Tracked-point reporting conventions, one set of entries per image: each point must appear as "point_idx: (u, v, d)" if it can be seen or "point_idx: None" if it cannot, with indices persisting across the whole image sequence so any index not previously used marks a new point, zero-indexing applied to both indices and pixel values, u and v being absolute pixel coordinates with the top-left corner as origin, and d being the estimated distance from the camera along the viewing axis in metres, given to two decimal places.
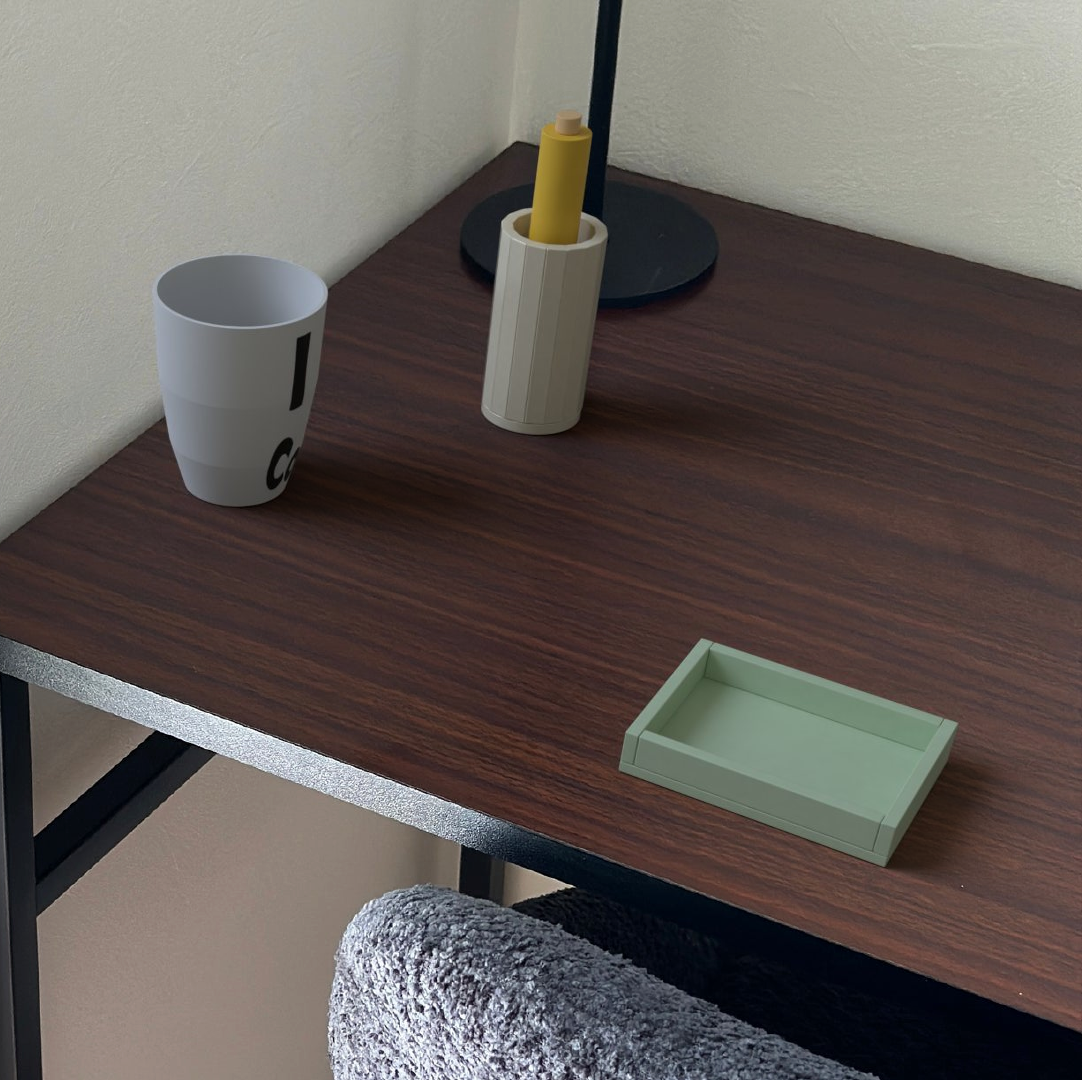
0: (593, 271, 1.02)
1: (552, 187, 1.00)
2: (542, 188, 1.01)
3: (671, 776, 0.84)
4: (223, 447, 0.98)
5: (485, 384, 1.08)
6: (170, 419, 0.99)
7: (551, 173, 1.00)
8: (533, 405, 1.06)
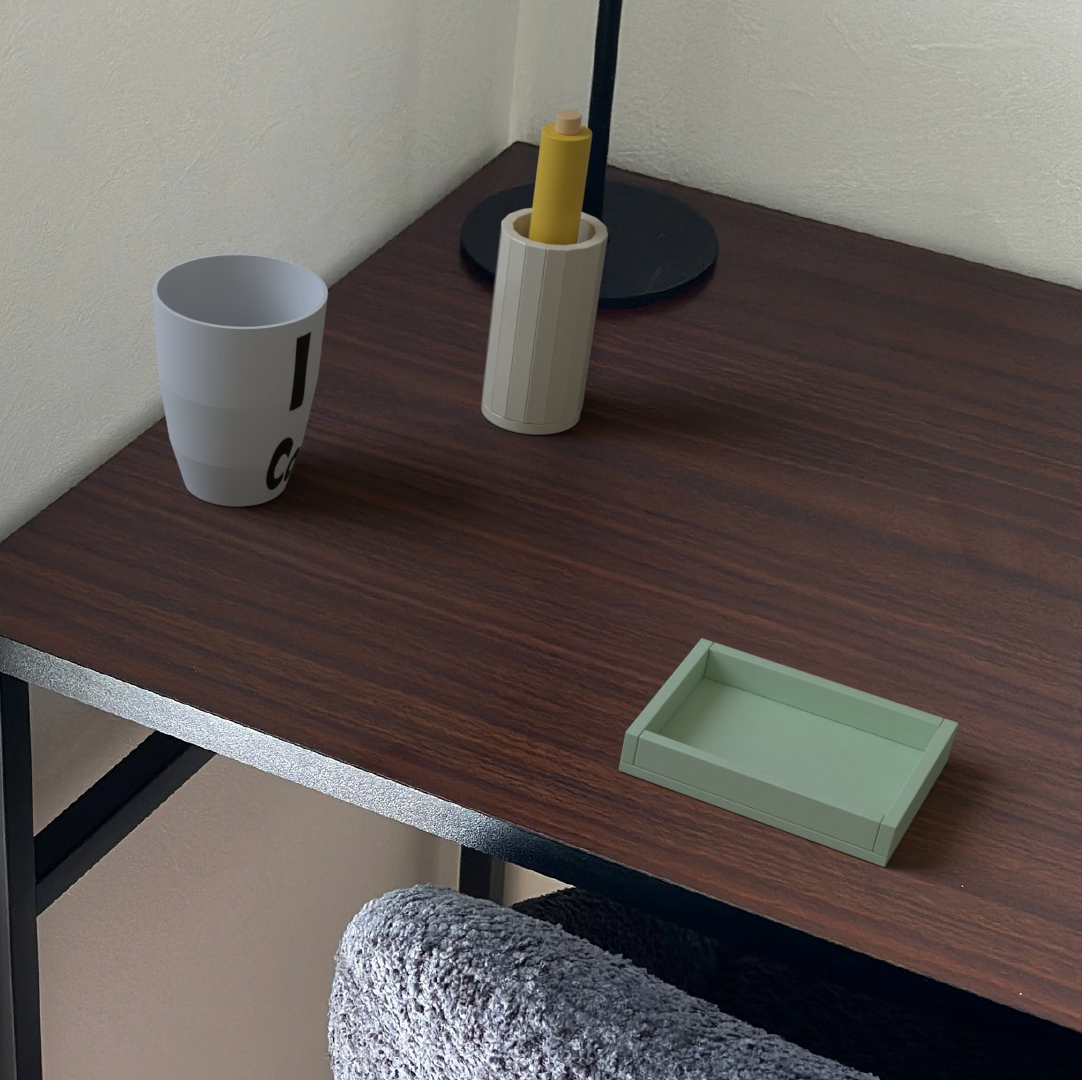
0: (593, 271, 1.02)
1: (552, 187, 1.00)
2: (542, 188, 1.01)
3: (671, 776, 0.84)
4: (223, 447, 0.98)
5: (485, 384, 1.08)
6: (170, 419, 0.99)
7: (551, 173, 1.00)
8: (533, 405, 1.06)
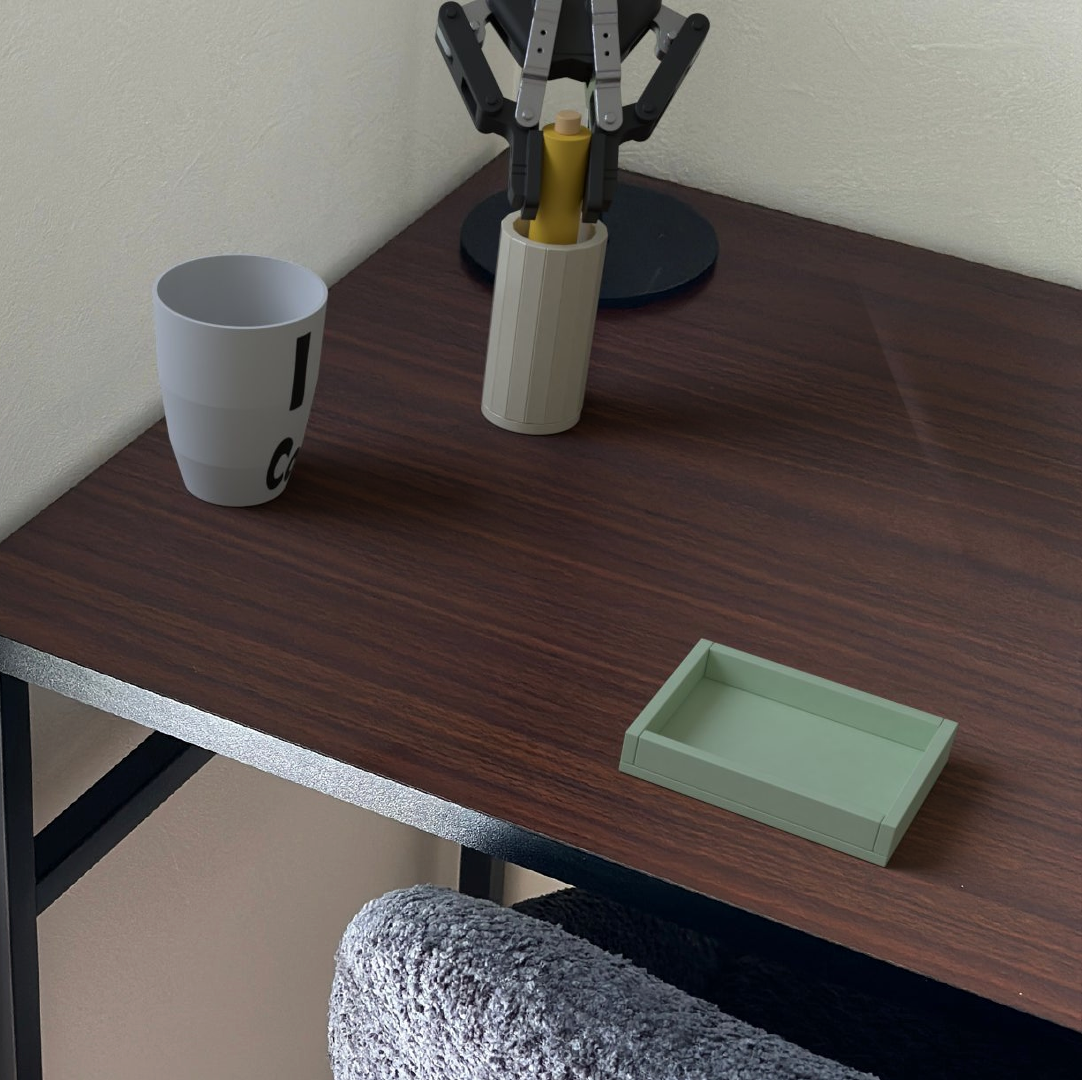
0: (593, 271, 1.02)
1: (552, 187, 1.00)
2: (542, 188, 1.01)
3: (671, 776, 0.84)
4: (223, 447, 0.98)
5: (485, 384, 1.08)
6: (170, 419, 0.99)
7: (551, 173, 1.00)
8: (533, 405, 1.06)
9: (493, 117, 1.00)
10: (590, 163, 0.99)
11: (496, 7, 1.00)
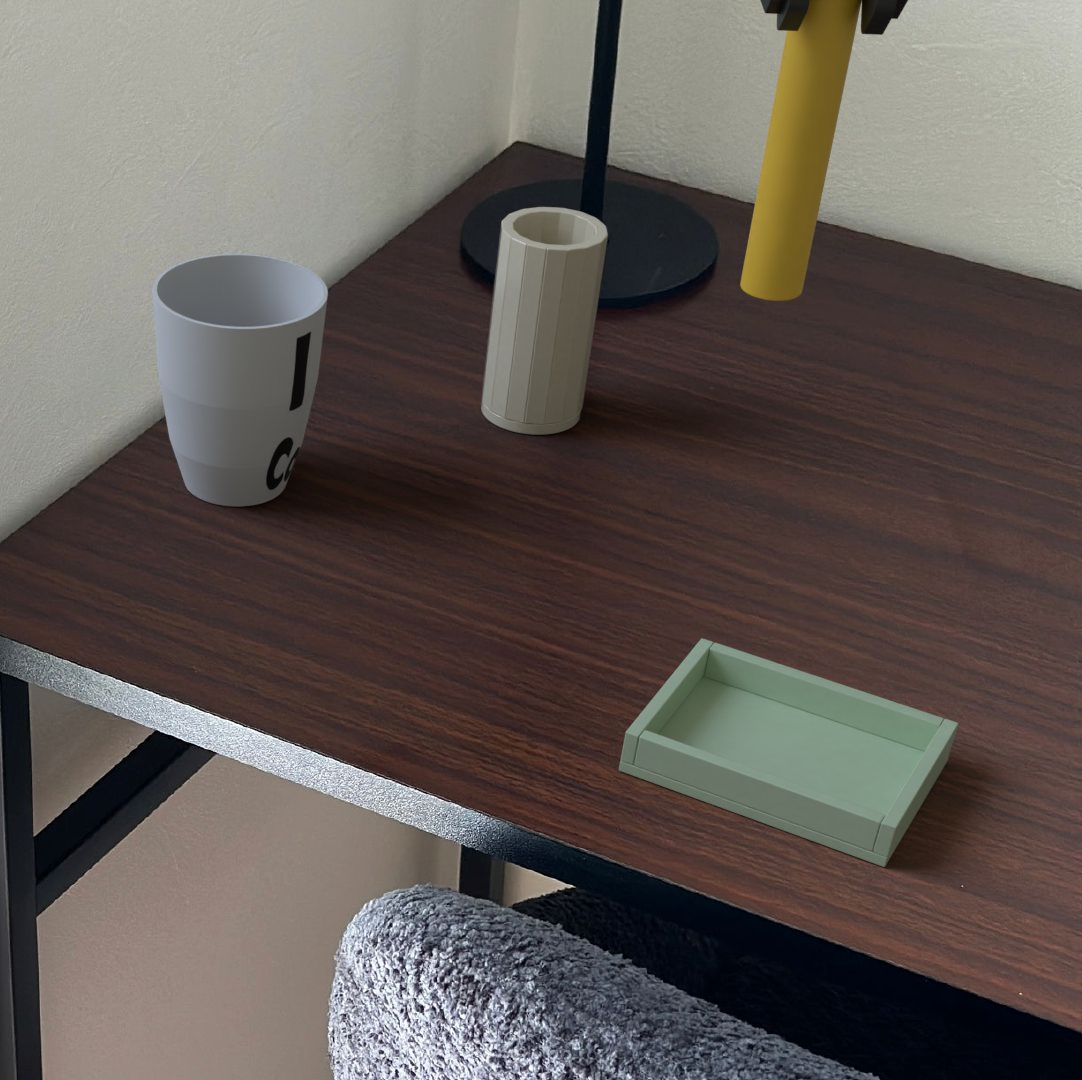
0: (593, 271, 1.02)
1: None
2: None
3: (671, 776, 0.84)
4: (223, 447, 0.98)
5: (485, 384, 1.08)
6: (170, 419, 0.99)
7: None
8: (533, 405, 1.06)
9: None
10: None
11: None
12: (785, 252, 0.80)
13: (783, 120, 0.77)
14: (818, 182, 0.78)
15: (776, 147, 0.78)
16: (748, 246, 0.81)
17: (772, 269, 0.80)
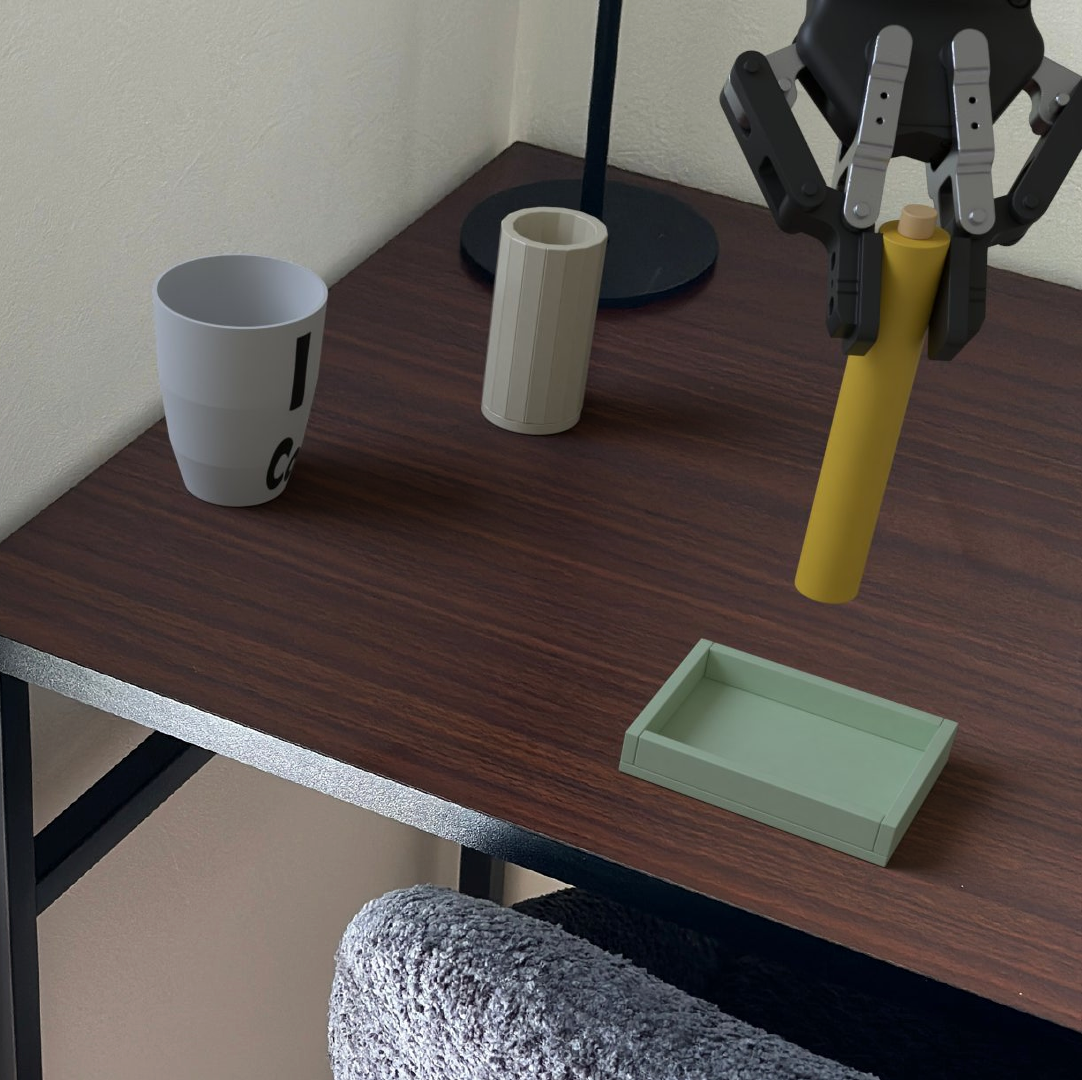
0: (593, 271, 1.02)
1: (890, 311, 0.72)
2: None
3: (671, 776, 0.84)
4: (223, 447, 0.98)
5: (485, 384, 1.08)
6: (170, 419, 0.99)
7: (891, 291, 0.71)
8: (533, 405, 1.06)
9: (810, 213, 0.71)
10: (949, 279, 0.71)
11: (813, 59, 0.72)
12: (843, 559, 0.78)
13: (845, 435, 0.75)
14: (879, 493, 0.76)
15: (837, 459, 0.76)
16: (804, 548, 0.79)
17: (829, 574, 0.78)
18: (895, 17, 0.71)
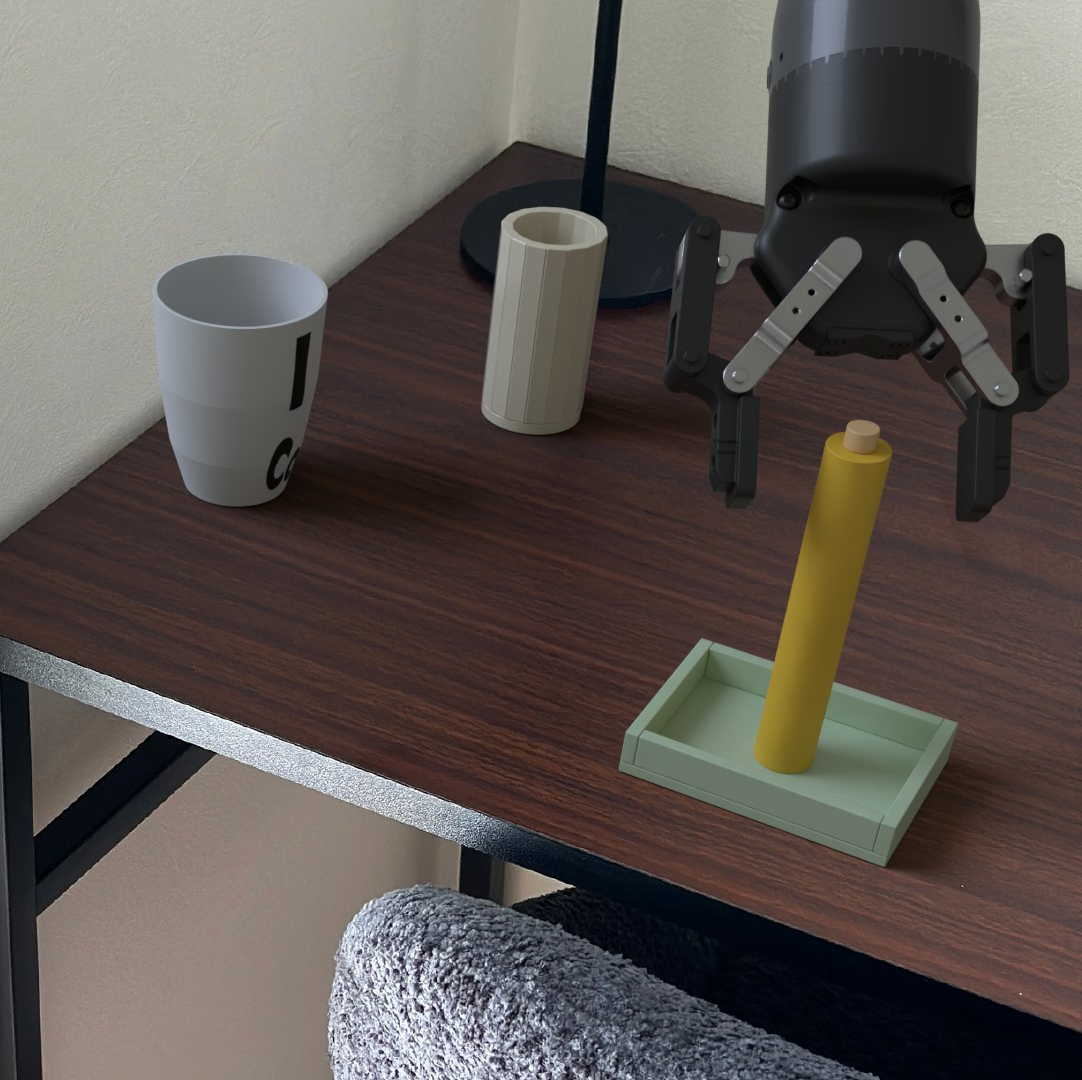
0: (593, 271, 1.02)
1: (837, 518, 0.77)
2: (822, 517, 0.77)
3: (671, 776, 0.84)
4: (223, 447, 0.98)
5: (485, 384, 1.08)
6: (170, 419, 0.99)
7: (837, 500, 0.77)
8: (533, 405, 1.06)
9: (692, 378, 0.76)
10: (976, 449, 0.75)
11: (770, 266, 0.77)
12: (798, 734, 0.83)
13: (797, 625, 0.80)
14: (830, 676, 0.82)
15: (790, 646, 0.81)
16: (762, 722, 0.84)
17: (785, 748, 0.84)
18: (847, 227, 0.76)
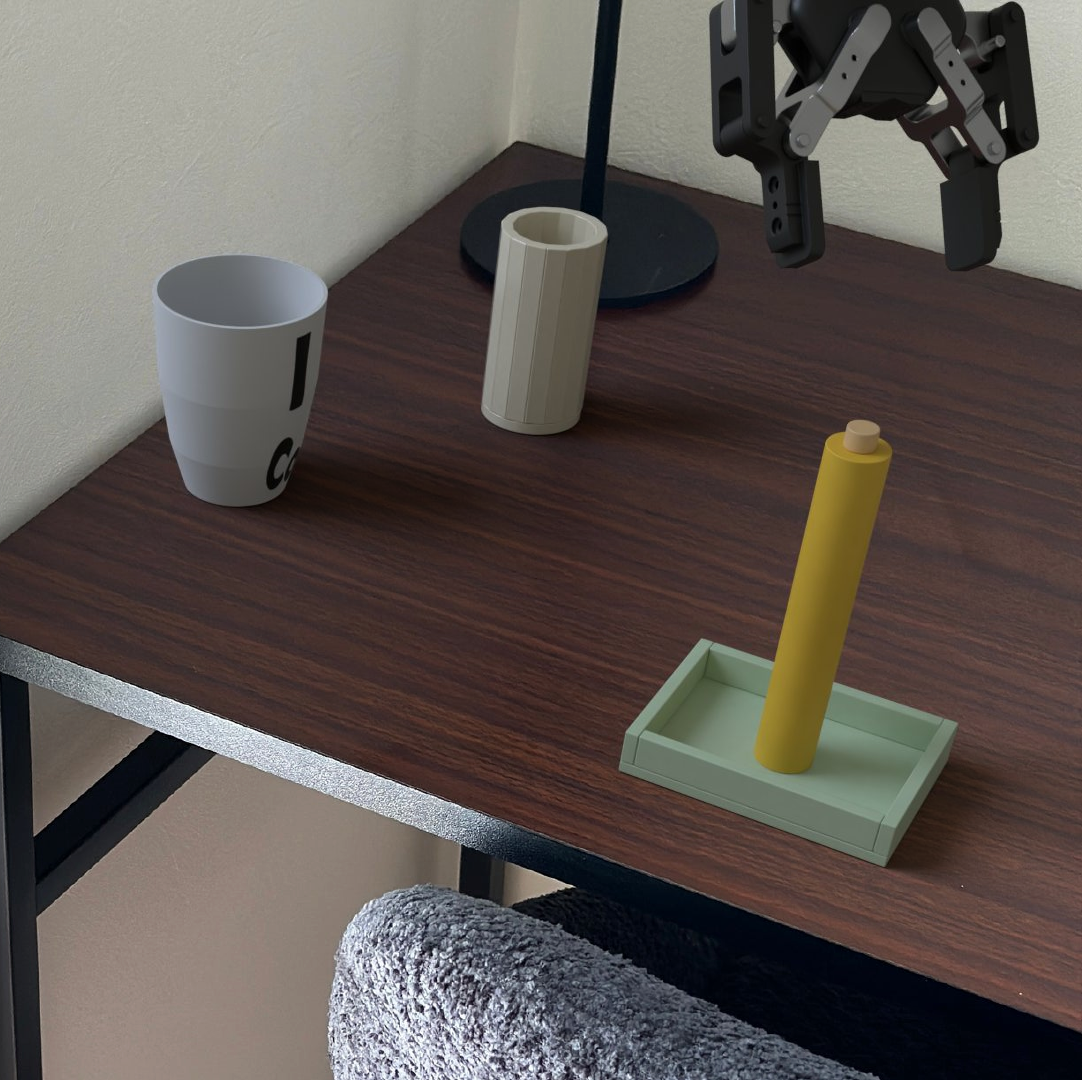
0: (593, 271, 1.02)
1: (837, 518, 0.77)
2: (822, 517, 0.77)
3: (671, 776, 0.84)
4: (223, 447, 0.98)
5: (485, 384, 1.08)
6: (170, 419, 0.99)
7: (837, 500, 0.77)
8: (533, 405, 1.06)
9: (760, 142, 0.80)
10: (979, 204, 0.84)
11: (809, 32, 0.81)
12: (798, 734, 0.83)
13: (797, 625, 0.80)
14: (830, 676, 0.82)
15: (790, 646, 0.81)
16: (762, 722, 0.84)
17: (785, 748, 0.84)
18: None
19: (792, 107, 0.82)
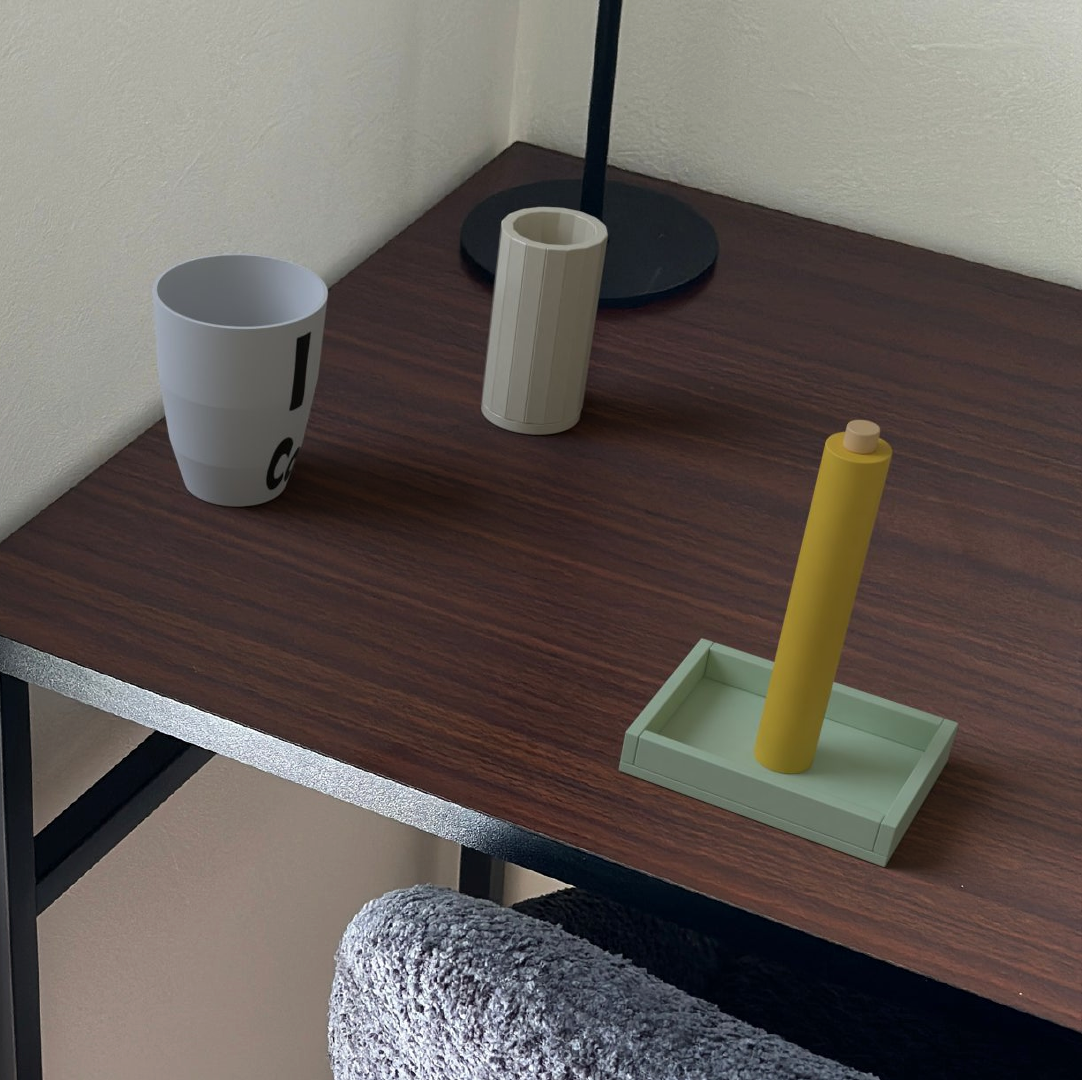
0: (593, 271, 1.02)
1: (837, 518, 0.77)
2: (822, 517, 0.77)
3: (671, 776, 0.84)
4: (223, 447, 0.98)
5: (485, 384, 1.08)
6: (170, 419, 0.99)
7: (837, 500, 0.77)
8: (533, 405, 1.06)
9: None
10: None
11: None
12: (798, 734, 0.83)
13: (797, 625, 0.80)
14: (830, 676, 0.82)
15: (790, 646, 0.81)
16: (762, 722, 0.84)
17: (785, 748, 0.84)
18: None
19: None
